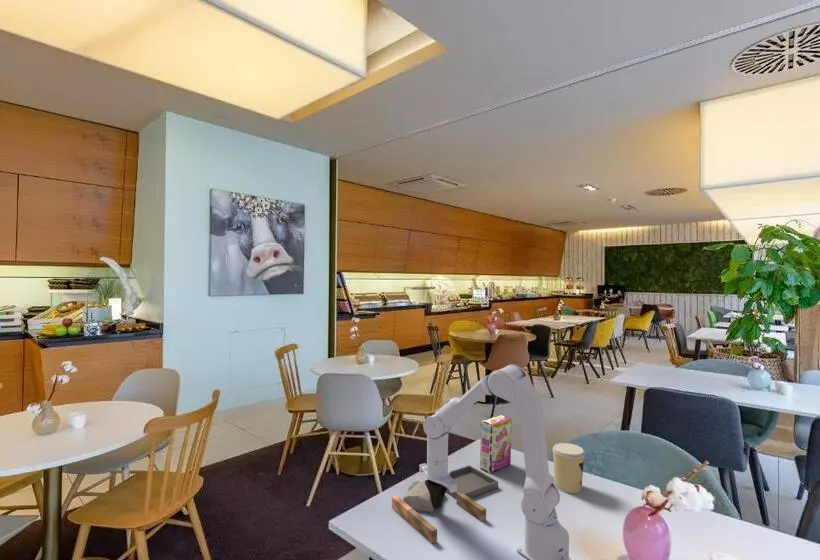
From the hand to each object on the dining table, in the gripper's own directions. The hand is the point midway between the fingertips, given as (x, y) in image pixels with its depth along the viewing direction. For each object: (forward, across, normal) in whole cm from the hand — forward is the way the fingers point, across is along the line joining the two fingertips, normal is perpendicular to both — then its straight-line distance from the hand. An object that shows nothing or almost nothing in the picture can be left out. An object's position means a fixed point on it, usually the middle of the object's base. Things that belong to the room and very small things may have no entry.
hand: (437, 507), depth 114 cm
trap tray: (+2, +7, -17) cm, 18 cm away
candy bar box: (+2, +11, -34) cm, 36 cm away
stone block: (+2, +8, 0) cm, 8 cm away
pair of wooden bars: (+2, 0, 0) cm, 2 cm away
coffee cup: (+2, -11, -43) cm, 44 cm away
